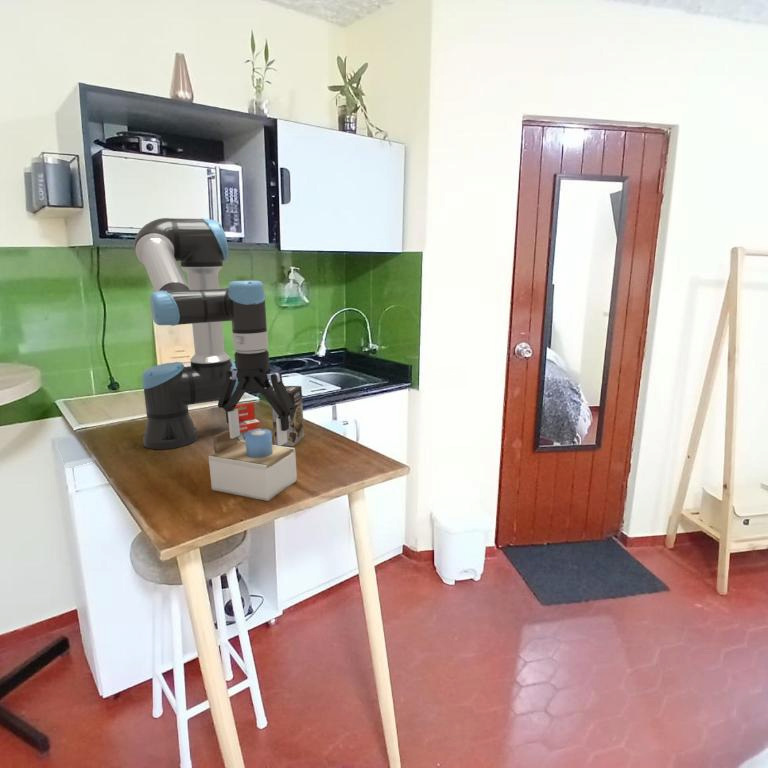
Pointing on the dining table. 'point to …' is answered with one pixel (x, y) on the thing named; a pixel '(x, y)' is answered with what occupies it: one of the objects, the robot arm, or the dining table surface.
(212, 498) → the dining table surface
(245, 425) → the ink box
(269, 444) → the blue capped cylinder
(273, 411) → the coffee box
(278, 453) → the lid
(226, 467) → the carton
